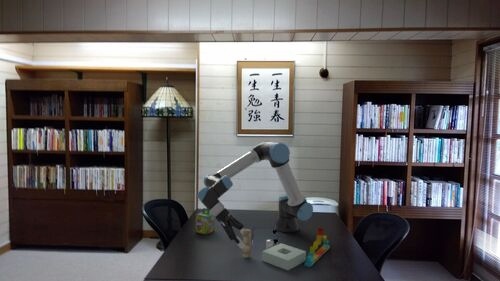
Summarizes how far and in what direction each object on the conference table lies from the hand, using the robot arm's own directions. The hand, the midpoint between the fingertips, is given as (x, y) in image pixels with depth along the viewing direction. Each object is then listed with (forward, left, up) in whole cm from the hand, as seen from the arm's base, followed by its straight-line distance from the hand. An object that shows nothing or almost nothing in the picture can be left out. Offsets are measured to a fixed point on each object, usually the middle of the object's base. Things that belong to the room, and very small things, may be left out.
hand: (246, 242), depth 176 cm
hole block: (-10, +17, -7) cm, 21 cm away
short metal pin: (-17, +2, -8) cm, 19 cm away
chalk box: (-10, -45, -8) cm, 47 cm away
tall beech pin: (0, 0, -7) cm, 8 cm away
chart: (-28, +27, -8) cm, 40 cm away
